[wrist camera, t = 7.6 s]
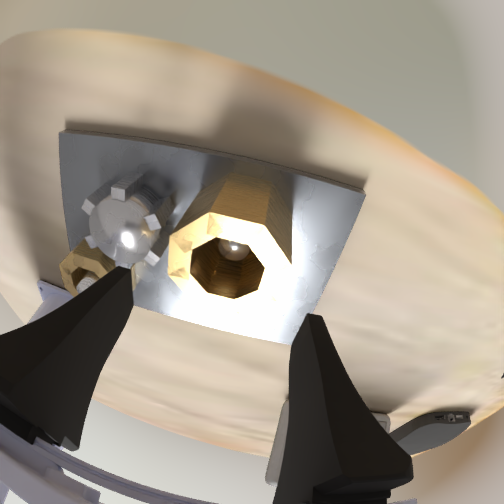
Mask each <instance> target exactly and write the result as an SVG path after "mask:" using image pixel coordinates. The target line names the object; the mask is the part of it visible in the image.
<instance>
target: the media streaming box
mask: <svg viewBox="0 0 504 504" xmlns="http://www.w3.org/2000/svg"><path fill="white" fill-rule="evenodd" d="M470 424H471V420H470V416H469V413H468V412H434V413H429V414H426V415H423V416H420V417H417V418H415V419H413V420H411V421H409V422H408V423H406V424H404V425H403V426H401V427H399V428H398V429H396V430H395V431H393V432H391V433H390V434H389V435H390V436H391V437H392V439H393V440H394V441H395V442H396V443H397V444H398V445H399V446H400V447H401V448H402V449H403V450H404V451H406V452H407V453H408V454H409V455H413V454H416V453H420V452H423V451H426V450H429V449H432V448H435V447H438V446H440V445H443V444H445V443H447V442H449V441H450V440H452V439H454V438H455V437H457V436H458V435H460V434H461V433H462V432H463V431H465V430H466V429H467V428H468V427H469V425H470Z"/></svg>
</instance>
